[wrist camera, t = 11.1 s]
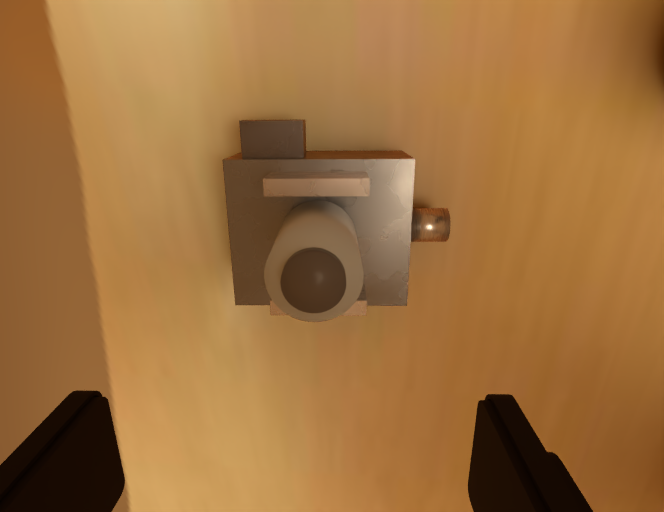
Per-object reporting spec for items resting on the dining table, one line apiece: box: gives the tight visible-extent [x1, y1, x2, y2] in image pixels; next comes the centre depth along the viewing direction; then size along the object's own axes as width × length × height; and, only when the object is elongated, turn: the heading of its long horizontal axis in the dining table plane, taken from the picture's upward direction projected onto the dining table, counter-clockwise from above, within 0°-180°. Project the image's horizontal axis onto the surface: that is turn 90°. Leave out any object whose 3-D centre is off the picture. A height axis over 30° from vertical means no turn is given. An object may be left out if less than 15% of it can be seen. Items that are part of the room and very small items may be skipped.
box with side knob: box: [223, 120, 450, 315], centre depth 29 cm, size 15×12×9 cm
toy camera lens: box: [264, 200, 364, 322], centre depth 24 cm, size 5×5×8 cm
